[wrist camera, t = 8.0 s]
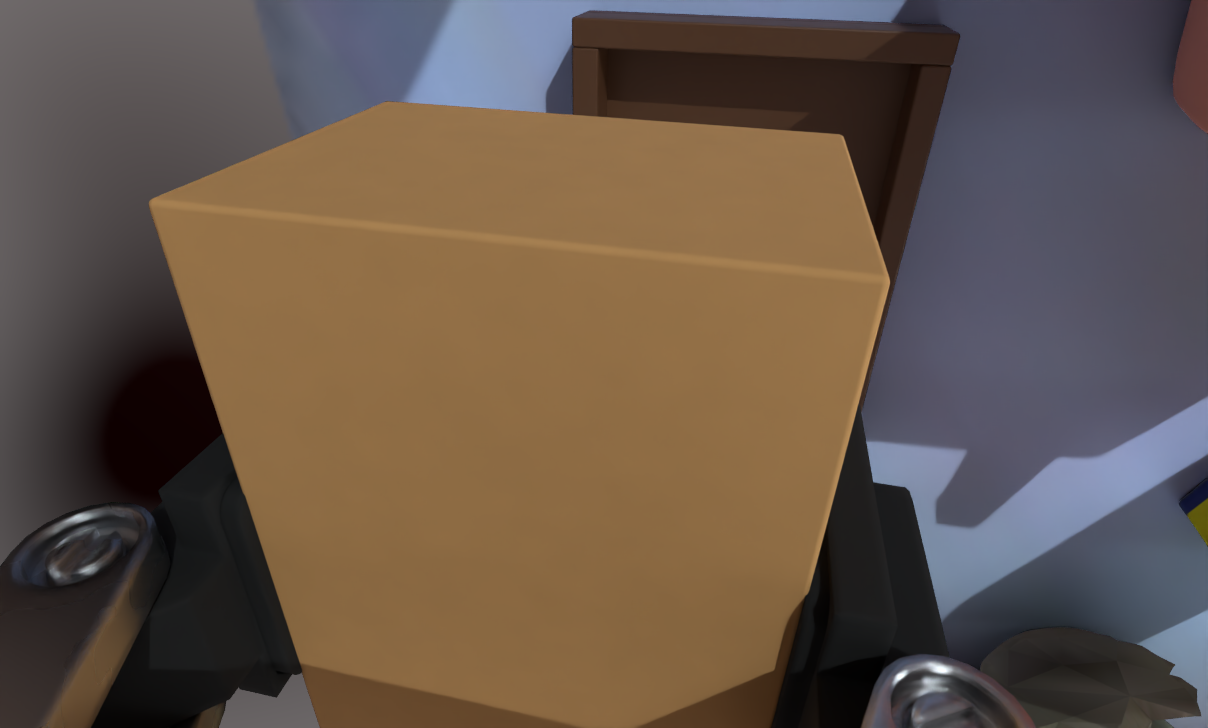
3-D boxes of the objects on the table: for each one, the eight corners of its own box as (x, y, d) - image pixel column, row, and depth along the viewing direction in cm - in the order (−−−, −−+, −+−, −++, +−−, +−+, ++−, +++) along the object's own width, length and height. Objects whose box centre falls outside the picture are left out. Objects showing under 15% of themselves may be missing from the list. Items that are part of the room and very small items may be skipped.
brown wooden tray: (588, 10, 22) (571, 17, 20) (945, 24, 20) (961, 33, 18) (586, 412, 30) (574, 441, 28) (839, 447, 28) (843, 481, 27)
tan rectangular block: (383, 100, 9) (143, 198, 5) (844, 133, 8) (893, 277, 5) (449, 587, 14) (342, 801, 10) (742, 644, 13) (729, 899, 9)
